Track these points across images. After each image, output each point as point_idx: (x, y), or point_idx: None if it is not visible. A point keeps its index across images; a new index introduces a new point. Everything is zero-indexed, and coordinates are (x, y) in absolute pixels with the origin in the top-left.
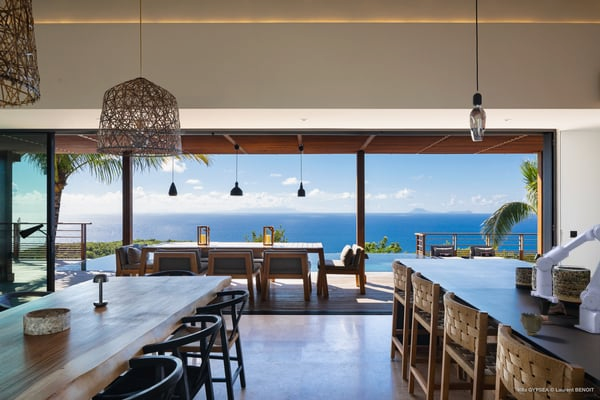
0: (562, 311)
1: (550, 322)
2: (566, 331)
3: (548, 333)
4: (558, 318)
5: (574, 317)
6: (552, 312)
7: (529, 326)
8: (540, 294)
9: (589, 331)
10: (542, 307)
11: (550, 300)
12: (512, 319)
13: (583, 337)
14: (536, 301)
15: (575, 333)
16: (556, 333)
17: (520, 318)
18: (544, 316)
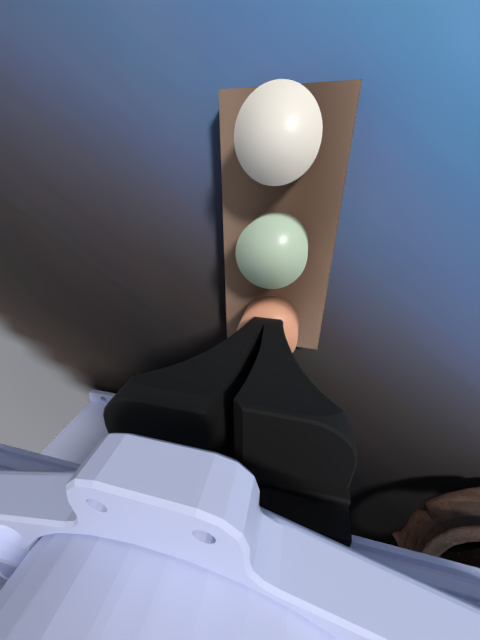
0: (449, 559)
1: (227, 324)
2: (96, 300)
3: (5, 130)
4: (359, 460)
5: (358, 527)
6: (428, 498)
7: None
8: (57, 558)
9: (100, 393)
10: (208, 350)
11: (42, 466)
12: (457, 7)
13: (16, 305)
14: (309, 395)
15: (73, 320)
16: (30, 200)
17: (357, 82)
18: (241, 319)
